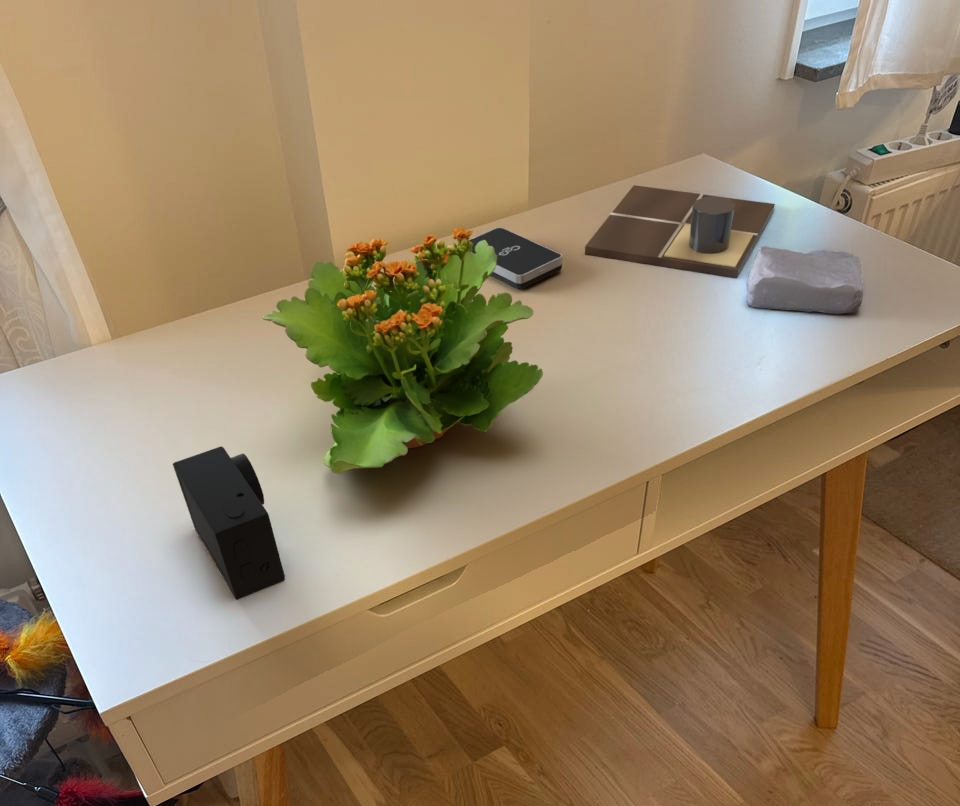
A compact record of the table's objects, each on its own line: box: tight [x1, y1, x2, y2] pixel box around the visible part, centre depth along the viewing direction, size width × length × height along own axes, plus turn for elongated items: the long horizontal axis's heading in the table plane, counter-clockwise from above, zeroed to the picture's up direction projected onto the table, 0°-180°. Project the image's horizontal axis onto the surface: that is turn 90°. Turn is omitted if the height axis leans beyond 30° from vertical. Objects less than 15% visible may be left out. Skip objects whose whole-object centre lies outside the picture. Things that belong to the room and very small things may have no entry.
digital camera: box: [172, 446, 286, 600], centre depth 77 cm, size 10×5×7 cm, turn 30°
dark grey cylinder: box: [689, 196, 735, 254], centre depth 109 cm, size 5×5×4 cm
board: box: [584, 184, 776, 279], centre depth 115 cm, size 18×18×1 cm
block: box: [746, 245, 864, 315], centre depth 104 cm, size 12×5×10 cm
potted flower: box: [262, 227, 544, 475], centre depth 86 cm, size 25×24×18 cm
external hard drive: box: [468, 226, 563, 290], centre depth 111 cm, size 7×11×2 cm, turn 41°
